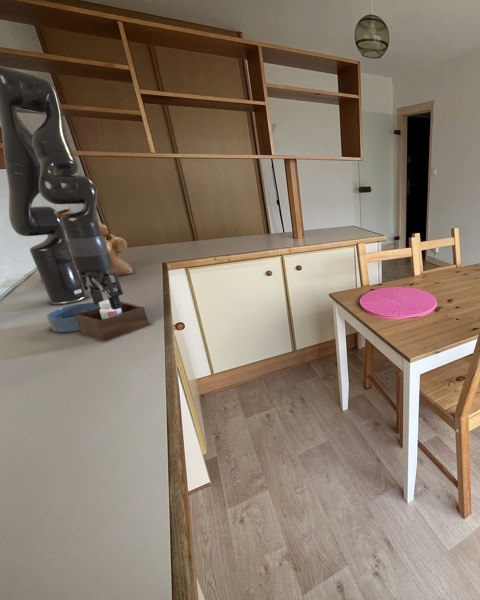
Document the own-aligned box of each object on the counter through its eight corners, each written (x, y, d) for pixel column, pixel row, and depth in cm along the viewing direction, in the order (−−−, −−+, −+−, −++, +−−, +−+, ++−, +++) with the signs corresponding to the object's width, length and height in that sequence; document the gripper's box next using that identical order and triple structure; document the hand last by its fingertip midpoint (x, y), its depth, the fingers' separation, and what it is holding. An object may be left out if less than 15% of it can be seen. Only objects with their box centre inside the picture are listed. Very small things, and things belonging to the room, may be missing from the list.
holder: (81, 333, 92) (74, 314, 90) (126, 318, 102) (120, 301, 100) (105, 340, 88) (98, 321, 86) (149, 324, 98) (144, 307, 96)
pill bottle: (114, 331, 92) (105, 305, 89) (101, 329, 93) (92, 303, 90) (130, 324, 97) (122, 299, 94) (117, 323, 98) (109, 298, 95)
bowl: (43, 327, 94) (37, 314, 93) (95, 312, 106) (91, 300, 104) (67, 336, 90) (61, 322, 88) (119, 319, 101) (115, 306, 100)
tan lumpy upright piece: (140, 273, 148) (121, 208, 137) (78, 285, 131) (51, 211, 120) (126, 268, 156) (107, 205, 145) (66, 278, 139) (39, 208, 128)
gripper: (121, 252, 87) (137, 306, 93) (91, 247, 92) (108, 298, 98) (88, 258, 81) (107, 315, 87) (58, 252, 86) (78, 306, 92)
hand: (108, 306), depth 92 cm, fingers open, 8 cm apart
